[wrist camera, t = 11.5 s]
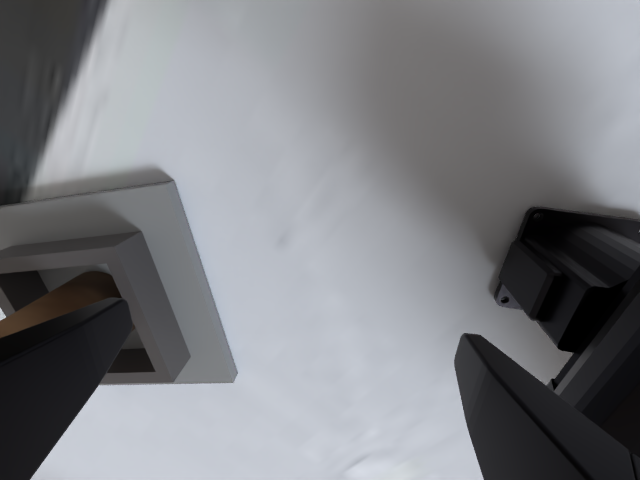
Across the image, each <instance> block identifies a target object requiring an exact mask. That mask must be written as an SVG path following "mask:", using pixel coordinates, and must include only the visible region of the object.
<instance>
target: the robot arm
mask: <svg viewBox="0 0 640 480" xmlns="http://www.w3.org/2000/svg"><path fill="white" fill-rule="evenodd" d="M537 213H540V216H539V217H538V218H537V219H533V218H534V215H535V214H537ZM639 230H640V220H636V219H629V218H621V217H614V216H606V215H598V214H591V213H583V212H576V211H568V210H561V209H553V208H545V207H533V208H530V209H529V210H528V211H527V213H526V215H525V217H524V220H523V222H522V225H521V228H520V230H519V233H518V235H517V238H516V240H515V241H513V242H512V244H511V246H510V249H509V251H508V254H507V257H506V259H505V262H504V265H503V267H502V270H501V272H500V275H499V279H500V282H499V285H498V287H497V290H496V292H495V295H494V299H495V301H496V303H497V304H498V305H499V306H502V307H508V308H514V309H521V310H523V311H524V312H525V313H526V314H527V316H528V317H529V318H530V319H531V320H533V321H537V322H538V324H539V325H540V326H541V328H542V329H543V330H544V331H545V333H546V334H547V335H548V336H549V338H550V339H551V340H552V341H553V343H554V344H555V345H556V346H557V348H558V349H559V350H562V351H567V352H572V353H573V355H572V357H571V358H570V359H569V361H568V362H567V363H566V365H565V366H564V367H563V369H562V370H561V371H560V373H559V374H558V375H557V377H556V378H555V379H551V380H550V382H549V383H548V384H547V386H546V385H544V384H543V383H542V382H541V381H539V380H538V379H537V378H535V377H534V376H533V375H531V374H530V373H529V372H528V371H526V370H525V369H524V368H522V367H521V366H520V365H519V364H517V363H516V362H515V361H513V360H512V359H511V358H509V357H508V356H507V355H506V354H504V353H503V352H502V351H500V350H499V349H498V348H497V347H495V346H494V345H493V344H491V343H490V342H489V341H487V340H486V339H485V338H484V337H482V336H481V335H478V334H468V333H464V334H463V335H462V336H461V338H460V341H459V345H458V348H457V352H456V355H455V360H454V365H455V371H456V376H457V381H458V385H459V390H460V395H461V400H462V405H463V410H464V415H465V419H466V423H467V427H468V431H469V434H470V438H471V441H472V444H473V447H474V450H475V453H476V456H477V460H478V463H479V466H480V469H481V472H482V475H483V478H484V480H640V232H639ZM638 232H639V233H638ZM502 297H506V299H504V300H501V298H502ZM132 327H133V321H132V317H131V312H130V308H129V304H128V302H127V300H125V299H123V298H112V297H111V298H107V299H104V300H101V301H99V302H96V303H93V304H91V305H88V306H85V307H83V308H80V309H77V310H75V311H72V312H69V313H66V314H64V315H61V316H58V317H56V318H53V319H50V320H48V321H45V322H42V323H39V324H37V325H34V326H31V327H29V328H26V329H23V330H21V331H18V332H15V333H13V334H10V335H7V336H4V337H2V338H0V480H30V479H31V478H32V476H33V475H34V473H35V472H36V471H37V469H38V468H39V467H40V465H41V464H42V462H43V461H44V460H45V458H46V457H47V456H48V454H49V453H50V451H51V450H52V449H53V447H54V446H55V445H56V443H57V442H58V441H59V439H60V438H61V436H62V435H63V434H64V432H65V431H66V430H67V428H68V427H69V425H70V424H71V423H72V421H73V420H74V419H75V417H76V416H77V414H78V413H79V412H80V410H81V409H82V408H83V406H84V405H85V403H86V402H87V401H88V399H89V398H90V397H91V395H92V394H93V392H94V391H95V390H96V388H97V387H98V385H99V384H100V382H101V381H102V379H103V378H104V376H105V375H106V373H107V371H108V370H109V368H110V366H111V365H112V363H113V361H114V360H115V358H116V356H117V355H118V353H119V351H120V350H121V348H122V346H123V345H124V343H125V341H126V340H127V338H128V336H129V335H130V333H131V331H132Z"/></svg>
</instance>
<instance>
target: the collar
mask: <svg viewBox="0 0 640 480" xmlns="http://www.w3.org/2000/svg"><path fill="white" fill-rule="evenodd" d="M88 271H99V272H104V273H107V274H110V275H112V277H113V279H114V281H115V283H116V286H117V288H118V290H119V292H120V294H121V297H122V298H123V299H125V300H127V302H128V304H129V308H130V312H131V317H132V321H133V323H134V325H135V327H136V328H135V329H134V330H133V331H132V332H131V333H130V335H129V336H128V338H127V340H126V341H125V343H124V345H123V346H122V348H121V350H120V351H119V353H118V355H117V356H116V358H115V360H114V361H113V363H112V365H111V366H110V368H109V370H108V371H107V373H106V375H105V376H104V378H103V379H102V381H101V382H100V384H99V385H142V384H197V383H233V382H234V380H235V378H236V376H237V374H238V372H237V369H236V366H235V363H234V360H233V357H232V354H231V351H230V348H229V345H228V342H227V339H226V336H225V333H224V330H223V327H222V324H221V321H220V318H219V314H218V311H217V308H216V305H215V302H214V299H213V296H212V293H211V290H210V287H209V284H208V281H207V278H206V275H205V272H204V269H203V266H202V263H201V260H200V257H199V254H198V251H197V248H196V245H195V242H194V239H193V236H192V233H191V230H190V227H189V223H188V220H187V217H186V214H185V211H184V208H183V205H182V202H181V199H180V196H179V193H178V190H177V187H176V184H175V181H169V182H162V183H155V184H148V185H141V186H134V187H127V188H120V189H113V190H106V191H99V192H92V193H85V194H78V195H71V196H64V197H57V198H50V199H43V200H36V201H29V202H22V203H15V204H8V205H1V206H0V308H1V309H2V311H3V312H4V314H5V315H6V317H8V316H10V315H11V314H13V313H15V312H17V311H18V310H20V309H22V308H23V307H25V306H27V305H29V304H30V303H32V302H34V301H35V300H37V299H39V298H41V297H42V296H44V295H46V294H47V293H49V292H51V291H53V290H54V289H56V288H58V287H59V286H61V285H63V284H65V283H66V282H68V281H70V280H71V279H73V278H75V277H76V276H78V275H80V274H82V273H84V272H88Z"/></svg>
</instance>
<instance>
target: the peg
mask: <svg viewBox="0 0 640 480" xmlns="http://www.w3.org/2000/svg"><path fill="white" fill-rule="evenodd" d="M111 297H112V298H122V297H121V294H120V292H119V290H118V288H117V286H116V283H115V281H114V279H113V277H112V275H110V274H107V273H104V272H99V271H88V272H84V273H82V274H80V275H78V276H76V277H75V278H73V279H71V280H70V281H68V282H66V283H65V284H63V285H61V286H59V287H58V288H56V289H54V290H53V291H51V292H49V293H47V294H46V295H44V296H42V297H41V298H39V299H37V300H35V301H34V302H32V303H30V304H29V305H27V306H25V307H23V308H22V309H20V310H18V311H17V312H15V313H13V314H11V315H10V316H8V317H6V318H5V319H3V320H1V321H0V338H2V337H4V336H7V335H10V334H13V333H15V332H18V331H21V330H23V329H26V328H29V327H31V326H34V325H37V324H39V323H42V322H45V321H48V320H50V319H53V318H56V317H58V316H61V315H64V314H66V313H69V312H72V311H75V310H77V309H80V308H83V307H85V306H88V305H91V304H93V303H96V302H99V301H101V300H104V299H107V298H111ZM135 328H136V327H135V325H134V323H133V327H132V331H133V330H134V329H135ZM132 331H131V332H132Z"/></svg>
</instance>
